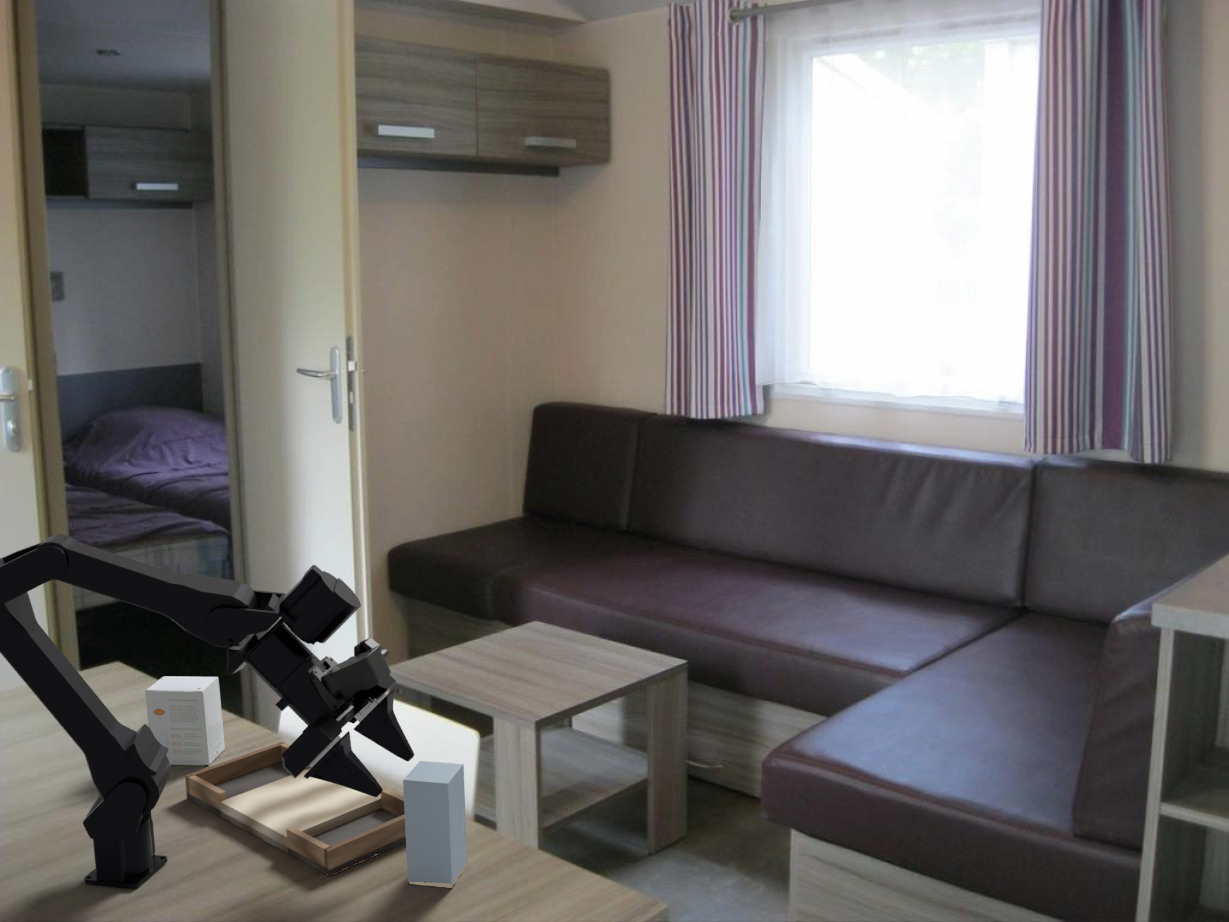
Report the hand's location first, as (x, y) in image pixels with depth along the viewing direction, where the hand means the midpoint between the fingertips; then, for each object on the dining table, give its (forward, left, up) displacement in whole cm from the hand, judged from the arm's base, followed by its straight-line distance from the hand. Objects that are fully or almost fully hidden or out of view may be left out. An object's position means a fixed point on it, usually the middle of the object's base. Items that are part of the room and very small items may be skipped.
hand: (396, 775), depth 141 cm
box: (+11, +17, -11) cm, 23 cm away
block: (0, -4, -11) cm, 12 cm away
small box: (+24, +40, -11) cm, 48 cm away
